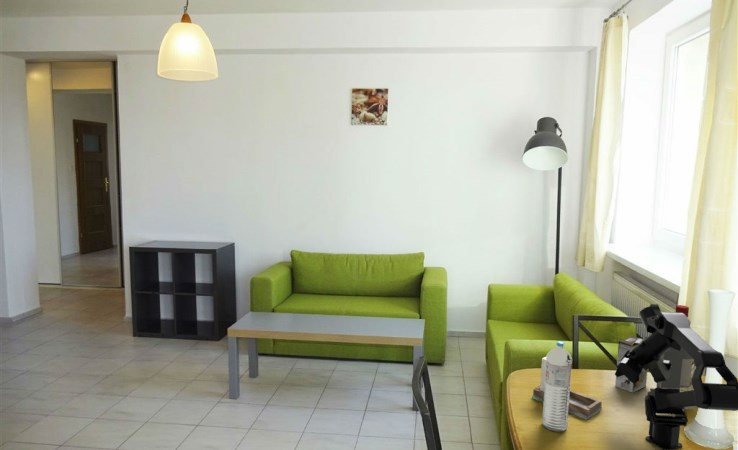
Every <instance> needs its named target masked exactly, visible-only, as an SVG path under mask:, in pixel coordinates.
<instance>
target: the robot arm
mask: <svg viewBox="0 0 738 450" xmlns="http://www.w3.org/2000/svg"><path fill="white" fill-rule="evenodd" d="M639 317H640V320H641V322H642V324H643V326H644V328H645V330H646V333H649V335H648V336H645V337H644V338H640V339H637V340H636V341H634V342H633V344H632V345H631V346H632V347H633V348H632V350H631V351H628V350H627V352H626V353H625V355H624V356H623V357H622V359H621V361H620V362H619V363H618V364H617V363H616V365H615V366H616V371H615V373H614V376H615V377H616V376H617V377H620V376H623V375H625V376H626V377H627V378H628V379H629V380H630V381H631V382H632V383H634V384H635V383H636V382H637V381H639V380H640V378H641V377H642V375H643V374H642V369H643V368H644V369H645V370H647V371H649V372H650V375H651V378H653V381H654V383H655V384H657V383H659V382H664V381H668V379H669V377H670V373H671V372H670V371H669V370H670V369H671V367H672V363H671V362H670V361H667V360H663V359H661V358H660V357H661V356H662V355H663V354H664V353H665V352H667V351H668V350H669V349H671V348H673V349H675V350H678V351H680V350H681V347H682V348H683V349H684V350H685V351H686V352H687V353H688V354H689V355H690V356H691V357H692V358H693V359H694V362H695V371H694V374H693V377H692V380H691V381H692V386H693V390H692V391H685V392H680V389H674V388H656V387H655V388H651V387H650V389H649V391H647V393H646V395H645V397H644V410H645V412H644V413H645V417H646V421H647V422H648V423H649V426H648V436H645V440H647V442H650V443H652V444H653V445H655V446H656V447H658V448H660V449H662V450H674V449H678V448H682V447H683V444H682V443H681V442H679V441H680V432H681V431H680V430H681V427H682V426H683V427H687V426H688V422H689V420H688V416H687V412H686V410H687V409H698V408H699V409H703V410H715V411H729V412H730V411H731V412H732V411H733V412H737V411H738V378H737V376H735V374H734V373H733V372H732V371H731V370H730V367H728V366H727V364H726V360H725V358H724V357H725V356H724V355H723V353H722V352H720V351H718V350H715V348H713V347H712V346H711V345H710V343H708V342H707V341H706V340H704V338H702V337H701V336H700V335H699V334H698V333H697V332H696V331H694V330H693V328H691V320H690V319H689V317H686V315H685V314H684V313H677V312H676V311H675V312H671V311H661V308H660V306H659V303H650V305H649V306H647V307H644V308H642V309H641V310H639ZM705 368H706V369H715V371H716V372H717V373H718V374H719V375H720V377H721V378H722V379H723V380H724V382H725V383H716V382H715V383H713V382H703V379H702V378H703V374H704V371H705V370H706V369H705Z"/></svg>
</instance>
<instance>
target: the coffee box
mask: <svg viewBox="0 0 738 450" xmlns="http://www.w3.org/2000/svg"><path fill="white" fill-rule="evenodd" d="M637 339H641V338H640V337H637V336H632V335H630V336H629V337H626V338H623V339H621V340H618V346H617V347H618V348H617V349H618V350H617V359H616V365H617V364H618V363H619V362H620V361H621V359H622V357H623V356H624V355H625V353H626V352H627V350H628V351H631V350H632V348H633V347H632V346H631V345H632V344H633V342H634V341H636V340H637ZM642 374H643V375H642V377H641V378H640V380H639V381H637V382H636V383H635V384H634V383H632V382H631V381H630V380H629V379H628V378H627V377H626V376H625V375H623V376H620V377H617V376H616V375H615V384H614V386H615V387H616V388H619V389H622V390H625V391H628V392H629V393H635V392H637V391H638V390H641V389H642V388H645V387H647V379H648V377H647V376H648V369H647V370H645V369H644V368H643V369H642Z"/></svg>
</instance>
